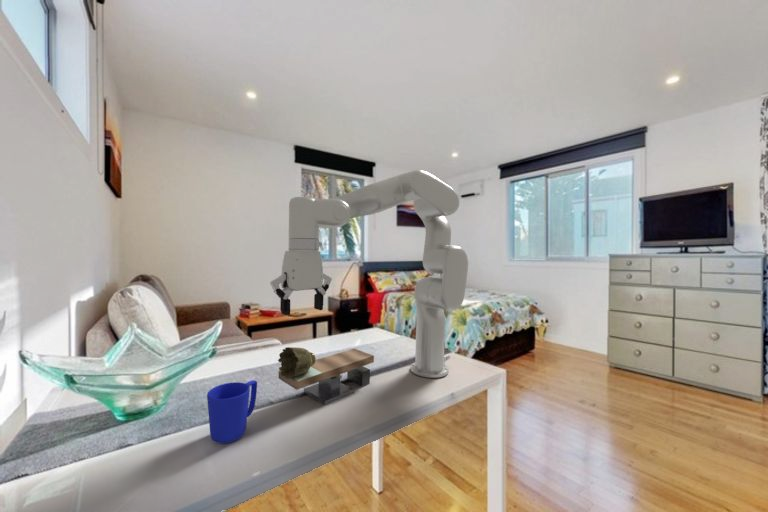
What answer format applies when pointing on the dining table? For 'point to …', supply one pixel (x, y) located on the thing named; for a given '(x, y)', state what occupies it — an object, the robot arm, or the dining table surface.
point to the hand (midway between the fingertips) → (302, 311)
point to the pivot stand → (338, 386)
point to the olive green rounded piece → (295, 361)
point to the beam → (330, 368)
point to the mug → (230, 410)
